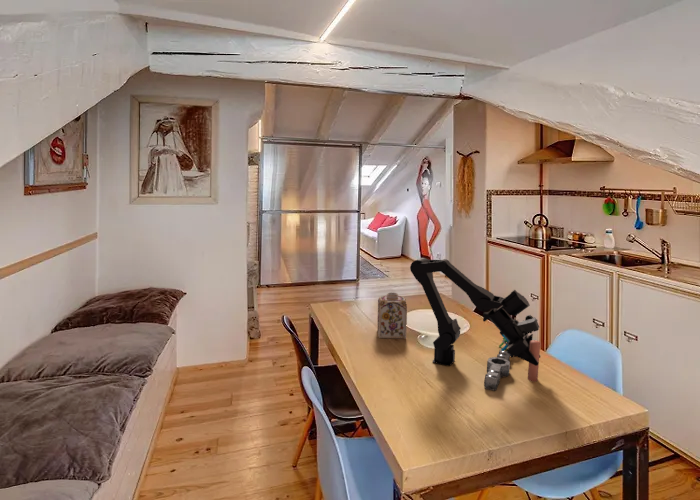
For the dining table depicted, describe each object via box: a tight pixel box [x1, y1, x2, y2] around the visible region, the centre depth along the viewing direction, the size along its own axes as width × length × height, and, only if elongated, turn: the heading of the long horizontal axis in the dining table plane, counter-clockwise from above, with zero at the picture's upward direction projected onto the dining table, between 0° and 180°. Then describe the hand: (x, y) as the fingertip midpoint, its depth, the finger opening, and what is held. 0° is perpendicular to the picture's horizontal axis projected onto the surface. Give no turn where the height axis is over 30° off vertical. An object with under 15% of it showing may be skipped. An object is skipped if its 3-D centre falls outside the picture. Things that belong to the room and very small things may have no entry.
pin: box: [527, 339, 541, 383], centre depth 140 cm, size 3×3×13 cm
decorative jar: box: [377, 292, 408, 339], centre depth 182 cm, size 12×12×18 cm
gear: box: [498, 335, 510, 351], centre depth 165 cm, size 11×6×10 cm
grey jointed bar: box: [483, 349, 511, 392], centre depth 145 cm, size 7×30×4 cm, turn 152°
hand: (538, 361), depth 139 cm, fingers open, 6 cm apart
